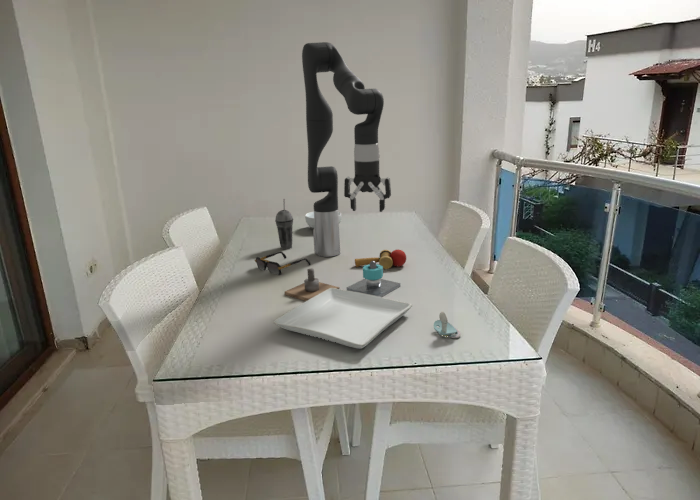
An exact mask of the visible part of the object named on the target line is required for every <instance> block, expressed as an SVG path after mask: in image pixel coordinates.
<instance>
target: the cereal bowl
mask: <svg viewBox="0 0 700 500" xmlns="http://www.w3.org/2000/svg"><path fill="white" fill-rule="evenodd" d="M338 214H339V225H340V223H341V222H342V212H340V211H338ZM304 216H305V218H304V219H305V223H306V224H307V226H308V227H310V228H312V229H315V221H314V211H310V212H307V213H306V214H305V215H304Z"/></svg>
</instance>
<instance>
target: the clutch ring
mask: <svg viewBox="0 0 700 500" xmlns="http://www.w3.org/2000/svg"><path fill="white" fill-rule="evenodd" d="M383 276H384V269H383V266H381V265H379V263H376V269H370V264H369V265H364V266H362V278H363V279H367V280H377V279H383Z"/></svg>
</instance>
